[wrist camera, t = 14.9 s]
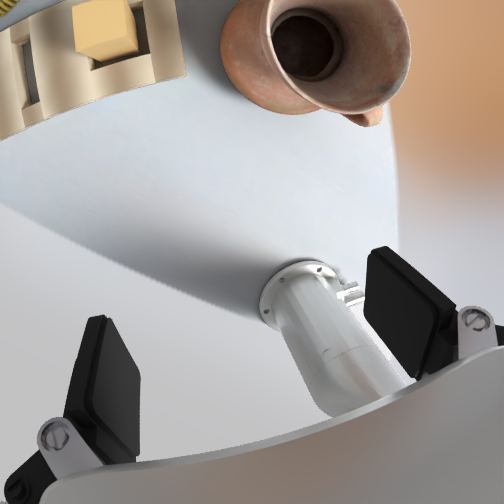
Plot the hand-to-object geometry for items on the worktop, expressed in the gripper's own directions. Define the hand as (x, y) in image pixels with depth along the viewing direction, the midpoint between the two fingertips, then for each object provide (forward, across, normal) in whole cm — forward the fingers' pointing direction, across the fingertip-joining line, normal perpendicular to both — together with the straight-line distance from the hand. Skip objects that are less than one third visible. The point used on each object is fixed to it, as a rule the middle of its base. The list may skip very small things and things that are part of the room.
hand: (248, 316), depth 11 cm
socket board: (+25, +11, -16) cm, 32 cm away
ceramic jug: (+26, -11, -11) cm, 30 cm away
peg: (+25, +6, -16) cm, 30 cm away
